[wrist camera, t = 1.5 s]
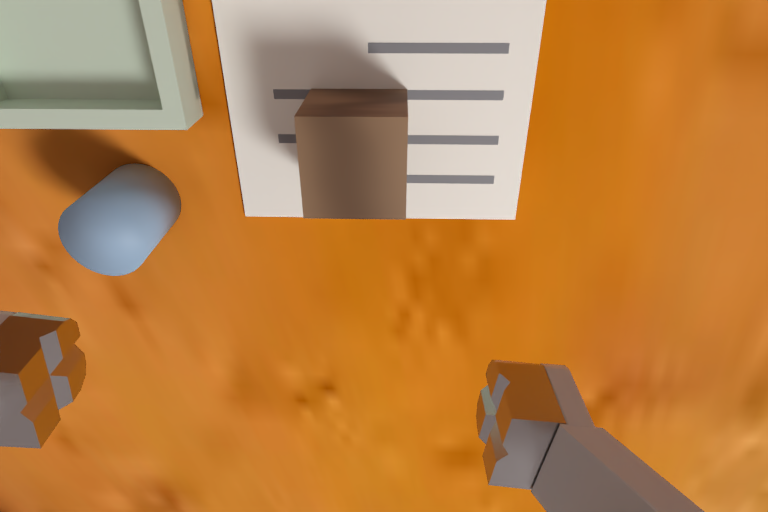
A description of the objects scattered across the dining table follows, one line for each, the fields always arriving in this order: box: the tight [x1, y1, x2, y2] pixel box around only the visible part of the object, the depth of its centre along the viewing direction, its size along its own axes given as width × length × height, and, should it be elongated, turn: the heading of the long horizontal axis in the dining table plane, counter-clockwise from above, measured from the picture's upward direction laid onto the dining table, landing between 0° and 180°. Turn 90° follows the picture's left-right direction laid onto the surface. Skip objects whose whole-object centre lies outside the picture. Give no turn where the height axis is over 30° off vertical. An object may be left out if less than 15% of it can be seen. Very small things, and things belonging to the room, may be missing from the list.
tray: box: [0, 0, 203, 130], centre depth 25 cm, size 11×11×2 cm
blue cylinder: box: [58, 163, 181, 276], centre depth 29 cm, size 4×4×5 cm
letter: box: [212, 0, 546, 220], centre depth 28 cm, size 16×12×1 cm
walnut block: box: [294, 89, 408, 219], centre depth 26 cm, size 5×5×5 cm
